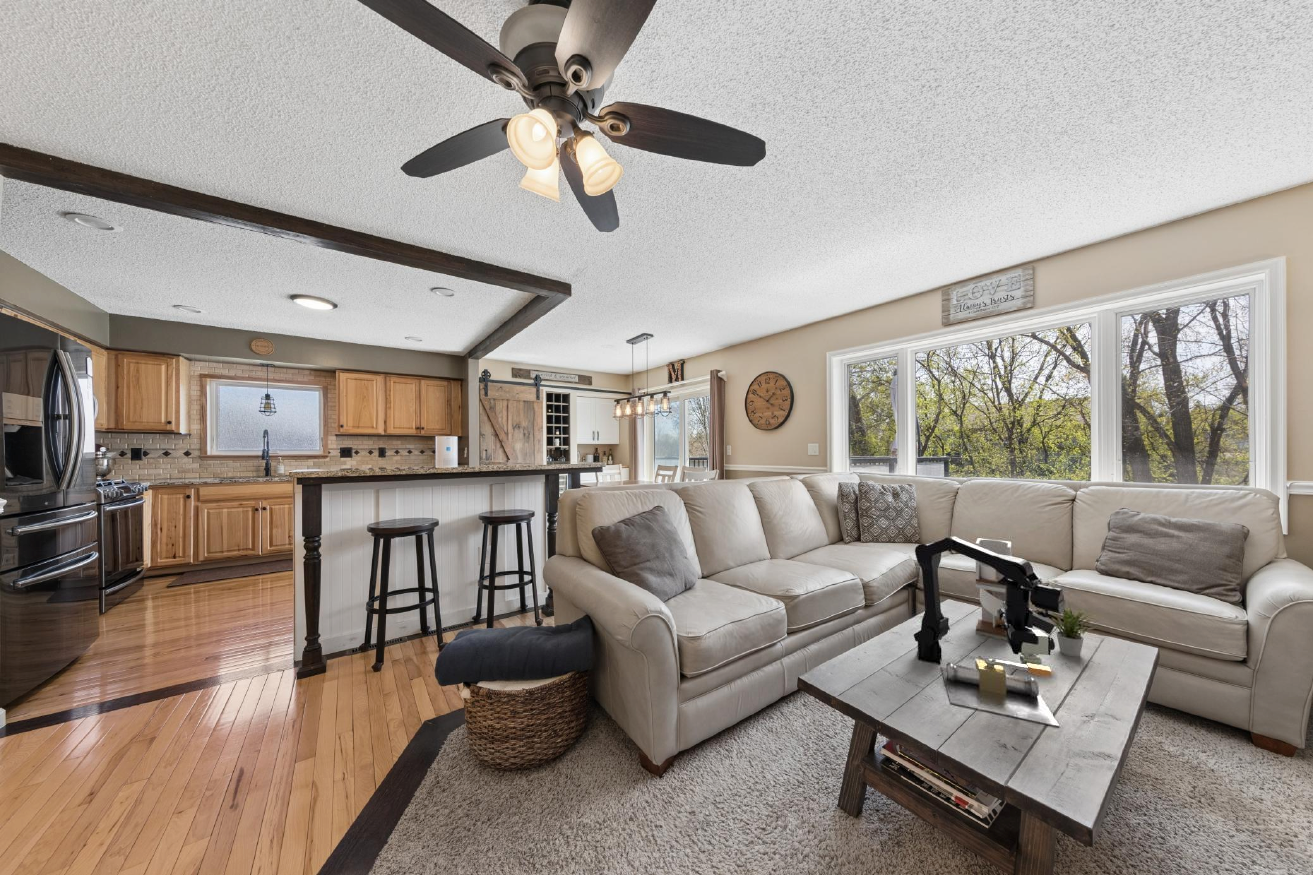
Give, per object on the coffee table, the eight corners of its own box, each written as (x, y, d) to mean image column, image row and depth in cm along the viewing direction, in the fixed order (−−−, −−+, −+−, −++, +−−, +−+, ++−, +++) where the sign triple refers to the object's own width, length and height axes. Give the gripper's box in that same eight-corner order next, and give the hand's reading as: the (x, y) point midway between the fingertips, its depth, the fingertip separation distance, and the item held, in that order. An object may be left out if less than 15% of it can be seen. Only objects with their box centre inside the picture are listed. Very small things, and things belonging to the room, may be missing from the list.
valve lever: (985, 665, 135) (985, 659, 136) (983, 660, 138) (983, 655, 138) (1051, 677, 128) (1051, 671, 128) (1048, 672, 131) (1048, 666, 131)
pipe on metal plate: (950, 704, 128) (950, 678, 128) (940, 668, 148) (940, 646, 148) (1059, 727, 117) (1059, 700, 117) (1033, 685, 137) (1033, 662, 137)
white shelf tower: (978, 624, 182) (977, 538, 183) (1011, 631, 176) (1011, 541, 176) (976, 633, 174) (975, 543, 174) (1011, 641, 167) (1010, 547, 167)
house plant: (1115, 665, 149) (1115, 616, 149) (1073, 664, 149) (1072, 615, 149) (1076, 645, 163) (1075, 600, 163) (1037, 645, 164) (1037, 600, 164)
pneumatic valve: (1055, 670, 146) (1055, 633, 146) (1014, 666, 149) (1014, 630, 149) (1044, 661, 152) (1044, 626, 152) (1005, 658, 154) (1005, 623, 154)
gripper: (1063, 619, 122) (1061, 676, 122) (1042, 596, 138) (1040, 646, 139) (1012, 611, 127) (1010, 665, 127) (997, 590, 143) (995, 638, 144)
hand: (1015, 653), depth 134 cm, fingers closed
